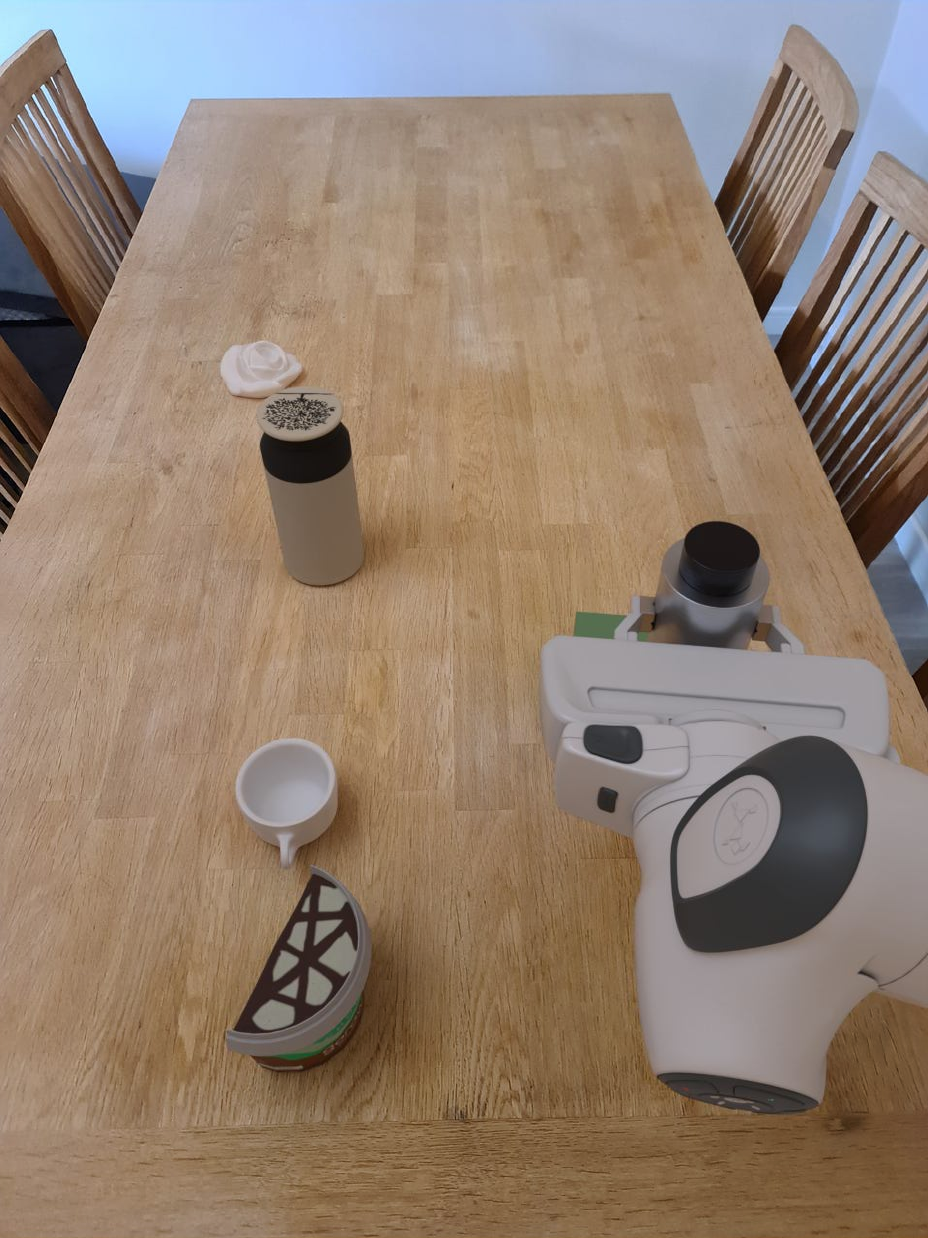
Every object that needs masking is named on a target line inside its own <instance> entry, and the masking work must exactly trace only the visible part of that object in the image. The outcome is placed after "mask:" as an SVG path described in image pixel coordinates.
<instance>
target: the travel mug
mask: <svg viewBox="0 0 928 1238" xmlns="http://www.w3.org/2000/svg"><path fill="white" fill-rule="evenodd" d="M344 409H345V408H344V404H343V402H342V400H341V399H340V398H339V397H338V396H337V395H336V394H335V393H333V392H332V391H330V390H328V389H326V388H322V387H318V386H312V385H300V386H292V387H286V388H285V389H284V390H281V391H278V392H276V393H274V394H272V395H271V396H269V397H265V399H264V400H263V401H262V402H261V403H260V404H259V406H258V408H257V411H256V422H257V425H258V427H259V428H260V430H262V432H263V433H262V435H261V438H260V441H259V451H260V455H261V460H262V464H263V469H264V474H265V478H266V484H267V487H268V492H269V498H270V502H271V507H272V511H273V516H274V522H275V525H276V530H277V535H278V539H279V544H280V549H281V554H282V558H283V563H284V567H285V569H286V571H287V573H289V575H290V576H292V578H294V579H295V580H297V581H298V582H301V583H303V584H307V585H312V586H330V585H335V584H337V583H340V582H343V581H345V580H347V579H349V578H351V577H352V576H353V575H354V574H356V573H357V571H358V570H359V569H360V568H361V566H362V565H363V563H364V560H365V547H364V538H363V531H362V523H361V515H360V507H359V506H360V505H359V498H358V492H357V491H358V490H357V483H356V473H355V467H354V460H353V459H354V458H353V451H352V443H351V435H350V432H349V430H348V428H347V426H346V425H345V424H344V423H343V422H342V419H343V418H344V413H345V410H344Z"/></svg>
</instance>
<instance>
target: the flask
mask: <svg viewBox="0 0 928 1238" xmlns="http://www.w3.org/2000/svg"><path fill="white" fill-rule="evenodd" d="M770 581H771V576H770V571H769V566H768V565H767V562H766V560H764V558H763V557H762V555H761V548H760V544H759V542H758V541H757V539H756V538H755V536H754V535H753V534H752V533H751V532H750V531H748V529H745V528H744V527H743V526H740V525H738V524H735V523H733V522H729V521H724V520H723V521H722V520H710V521H704V522H701V523H698V524H696V525H694V526H693V527H691V528H690V529H689V530H688V531H687V533H686V534H685V536H684V537H683V538H680V539H679V540H677V541H675V542H674V543H673V544H671V546H670V547H669V548H668V549H667V550H666V552H665V553H664V555H663V558H662V562H661V567H660V572H659V575H658V581H657V586H656V591H655V596H654V597H655V602H654V606H655V618H654V622H653V628H652V633H650V632H648V635H647V640H646V642H653V643H666V644H679V645H692V646H705V647H717V648H730V649H743V650H749V648H750V644H751V642H752V635H753V632H754V629H755V626H756V623H757V620H758V617H759V614H760V611H761V608H762V605H764V601H765V598H766V596H767V592H768V589H769V585H770Z"/></svg>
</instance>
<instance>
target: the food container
mask: <svg viewBox="0 0 928 1238" xmlns="http://www.w3.org/2000/svg"><path fill="white" fill-rule="evenodd" d="M309 868H310V874H311V875H310V878H309V880H308V881H307V883H306V885H305V888H304V890H303V893H302V894H301V896H300V898H299V900H298V902H297V904H296V906H295V907H294V910H293V911H292V914H291V916H290V917H289V919H288V921H287V923H286V925H285V926H284V928H283V930H282V931H281V933H280V934H279V937H278V938H277V940H276V942H275V944H274V945H273V947H272V949H271V952H270V953H269V956H268V958H267V960H266V962H265V965H264V967H263V969H262V972H261V973H260V975H259V977H258V980H257V982H256V984H255V986H254V988H253V989H252V992H251V994H250V995H249V998H248V1000H247V1001H246V1004H245V1006H244V1008H243V1010H242V1012H241V1014H240V1016H239V1018H238V1019H237V1021H236V1024H235V1025H234V1027H233V1029H230V1028H225V1030H224V1031H225V1032H226V1035H225V1036H224V1038H225V1044H226V1050H227V1051H229V1052H231V1053H232V1052H233V1053H236V1054H239V1055H244V1056H245V1055H246V1056H249V1057H250V1058H252V1060H254V1062H256V1064H258V1065H259V1067H261V1068H263V1069H265V1070H269V1071H273V1072H275V1073H303V1072H305V1071H308V1070H311V1069H314V1068H317V1067H320V1066H322V1065H325V1064H326V1063H327V1062H328V1061H330V1060H331V1059H332V1058H334V1057H335V1056H337V1055H338V1054H340V1053H341V1052H342V1051H343V1050H344V1049H345V1048H346V1046H347V1045H348V1044H349V1043H350V1041H351V1040H352V1038H354V1035H355V1034H356V1032H357V1030H358V1028H359V1026H360V1023H361V1020H362V1017H363V1012H364V1008H365V1007H364V1006H365V985H366V984H367V983H366V982H367V980H368V978H369V977H368V976H369V974H370V969H371V963H372V956H373V955H372V952H373V949H372V948H373V947H372V946H373V943H372V936H371V935H372V934H371V929H370V926H369V923H368V919H367V917H366V914H365V912H364V911H363V909H362V907H361V905H360V903H359V902H358V900H357V899H356V898H355V897H354V895H353V894H352V893H351V892H350V890H349V889H348V888H347V887H346V886H345V884H343V883H342V881H340V880H339V879H338V878H337V877H336V876H334V875H333V874H331V873H330V872H328V871H327V870H324V869H323V868H320V867H318V866H316V865H313V864H309Z"/></svg>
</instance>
